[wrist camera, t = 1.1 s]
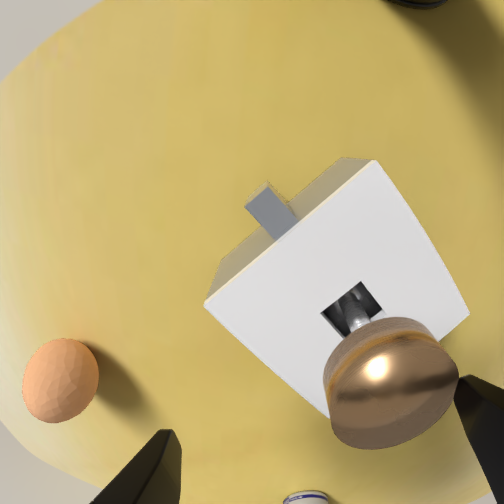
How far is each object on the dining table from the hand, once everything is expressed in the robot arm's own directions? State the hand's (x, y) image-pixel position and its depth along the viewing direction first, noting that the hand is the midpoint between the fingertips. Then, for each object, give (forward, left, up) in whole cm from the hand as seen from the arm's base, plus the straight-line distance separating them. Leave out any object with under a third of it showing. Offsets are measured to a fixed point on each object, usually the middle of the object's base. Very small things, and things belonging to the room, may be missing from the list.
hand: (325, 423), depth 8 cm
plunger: (-2, -2, -9) cm, 9 cm away
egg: (+5, +18, -14) cm, 23 cm away
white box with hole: (-2, -2, -13) cm, 14 cm away
